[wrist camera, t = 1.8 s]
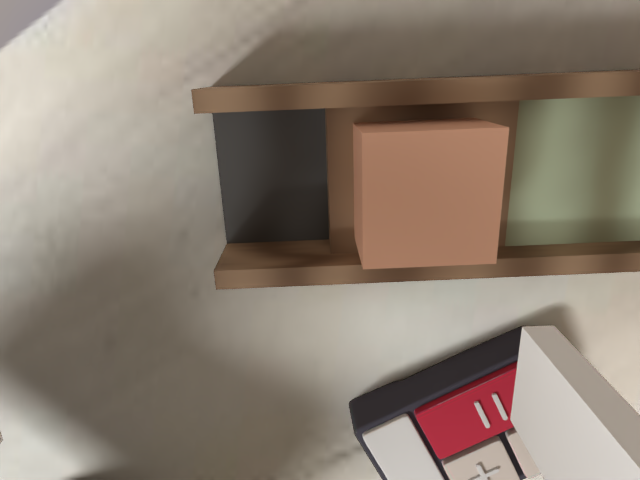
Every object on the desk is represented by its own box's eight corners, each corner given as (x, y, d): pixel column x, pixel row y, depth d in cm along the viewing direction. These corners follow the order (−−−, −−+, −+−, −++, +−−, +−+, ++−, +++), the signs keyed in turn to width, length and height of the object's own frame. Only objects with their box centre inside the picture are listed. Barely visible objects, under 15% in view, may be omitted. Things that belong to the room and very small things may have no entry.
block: (354, 237, 29) (362, 269, 25) (352, 122, 27) (361, 133, 22) (466, 233, 29) (496, 263, 25) (474, 117, 27) (509, 127, 22)
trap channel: (229, 258, 33) (216, 289, 28) (210, 86, 29) (191, 89, 24) (741, 236, 33) (813, 264, 28) (790, 63, 29) (882, 61, 24)
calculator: (595, 458, 35) (415, 538, 37) (563, 420, 39) (402, 492, 41) (550, 347, 32) (353, 439, 33) (520, 317, 36) (346, 400, 37)
